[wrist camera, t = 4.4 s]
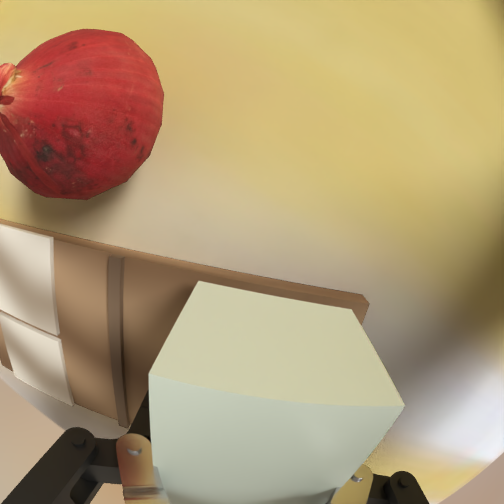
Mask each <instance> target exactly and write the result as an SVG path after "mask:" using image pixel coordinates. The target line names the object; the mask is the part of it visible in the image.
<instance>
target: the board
mask: <svg viewBox="0 0 504 504" xmlns="http://www.w3.org/2000/svg"><path fill="white" fill-rule="evenodd" d="M198 281H203V282H207V283H212V284H217V285H222V286H227V287H231V288H236V289H241V290H246V291H251V292H257V293H262V294H267V295H272V296H278V297H283V298H288V299H294V300H299V301H305V302H311V303H317V304H322V305H328V306H334V307H340V308H346V309H352V311H353V313H354V314H355V316H356V318H357V320H358V321H359V323H360V325H362V323H363V320H364V317H365V315H366V312H367V309H368V306H369V303H368V301H367V300H366V299H365V297H364V296H363V295H361V294H355V293H349V292H343V291H338V290H332V289H326V288H321V287H315V286H310V285H304V284H299V283H293V282H288V281H283V280H277V279H272V278H267V277H262V276H256V275H251V274H246V273H241V272H236V271H231V270H226V269H221V268H216V267H211V266H206V265H201V264H196V263H191V262H186V261H181V260H177V259H172V258H167V257H162V256H158V255H153V254H148V253H144V252H139V251H134V250H130V249H125V248H121V247H116V246H112V245H107V244H103V243H98V242H94V241H90V240H85V239H81V238H77V237H72V236H68V235H64V234H60V233H55V232H51V231H47V230H43V229H39V228H35V227H30V226H26V225H22V224H18V223H14V222H10V221H6V220H2V219H0V360H1V363H2V365H3V366H5V367H6V368H8V369H10V370H11V371H13V372H14V374H15V377H16V378H18V379H19V380H21V381H23V382H25V383H26V384H28V385H30V386H32V387H34V388H35V389H37V390H39V391H41V392H43V393H45V394H47V395H49V396H51V397H53V398H55V399H57V400H59V401H61V402H63V403H66V404H68V405H70V406H72V407H73V405H74V403H75V404H78V405H80V406H83V407H85V408H87V409H90V410H92V411H95V412H97V413H100V414H103V415H105V416H108V417H111V418H113V419H116V420H118V422H119V426H122V427H125V428H128V427H129V425H130V424H131V425H132V423H133V420H134V418H135V416H136V414H137V412H138V410H139V408H140V406H141V403H142V401H143V400H144V397H145V395H146V393H147V391H148V390H149V372H150V370H151V368H152V366H153V364H154V362H155V360H156V358H157V356H158V354H159V353H160V351H161V349H162V347H163V345H164V343H165V341H166V339H167V337H168V336H169V334H170V332H171V330H172V328H173V326H174V324H175V323H176V321H177V319H178V317H179V315H180V313H181V312H182V310H183V308H184V306H185V304H186V302H187V301H188V299H189V297H190V295H191V293H192V292H193V290H194V288H195V286H196V284H197V283H198Z"/></svg>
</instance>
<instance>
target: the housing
mask: <svg viewBox="0 0 504 504" xmlns="http://www.w3.org/2000/svg"><path fill="white" fill-rule="evenodd" d="M404 407H405V404H404V403H403V401H402V399H401V397H400V395H399V393H398V391H397V389H396V387H395V385H394V384H393V382H392V380H391V378H390V376H389V374H388V372H387V371H386V369H385V367H384V365H383V363H382V362H381V360H380V358H379V356H378V354H377V353H376V351H375V349H374V347H373V345H372V344H371V342H370V340H369V338H368V337H367V335H366V333H365V332H364V330H363V328H362V326H361V325H360V323H359V321H358V320H357V318H356V316H355V314H354V313H353V311H352V309H346V308H340V307H334V306H328V305H322V304H317V303H311V302H305V301H299V300H294V299H288V298H283V297H278V296H272V295H267V294H262V293H257V292H251V291H246V290H241V289H236V288H231V287H227V286H222V285H217V284H212V283H207V282H203V281H198V283H197V284H196V286H195V288H194V290H193V292H192V293H191V295H190V297H189V299H188V301H187V302H186V304H185V306H184V308H183V310H182V312H181V313H180V315H179V317H178V319H177V321H176V323H175V324H174V326H173V328H172V330H171V332H170V334H169V336H168V337H167V339H166V341H165V343H164V345H163V347H162V349H161V351H160V353H159V354H158V356H157V358H156V360H155V362H154V364H153V366H152V368H151V370H150V372H149V413H150V432H151V447H152V459H153V466H156V467H158V471H159V475H160V478H161V481H162V485H163V488H164V489H165V491H166V493H167V496H168V499H169V502H170V504H326V503H327V502H328V500H329V498H330V495H331V493H332V492H333V491H334V490H335V489H336V488H337V487H342V486H343V485H344V484H345V483H346V482H347V481H348V480H349V479H350V478H351V477H352V475H353V474H354V473H355V472H356V471H357V470H358V469H359V467H360V466H361V465H362V464H363V463H364V461H365V460H366V459H367V458H368V456H369V455H370V454H371V453H372V451H373V450H374V449H375V448H376V446H377V445H378V444H379V442H380V441H381V440H382V438H383V437H384V436H385V434H386V433H387V432H388V430H389V429H390V427H391V426H392V425H393V423H394V422H395V420H396V419H397V417H398V416H399V414H400V413H401V411H402V410H403V408H404Z"/></svg>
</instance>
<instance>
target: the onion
mask: <svg viewBox="0 0 504 504" xmlns="http://www.w3.org/2000/svg"><path fill="white" fill-rule="evenodd" d="M163 100H164V92H163V89H162V86H161V83H160V80H159V76H158V73H157V70H156V67H155V65H154V63H153V61H152V59H151V58H150V57H149V56H148V55H147V54H146V53H145V52H144V51H143V50H142V49H141V48H140V47H139V46H138V45H137V44H136V43H135V42H134V41H133V40H132V39H130V38H128V37H127V36H125V35H124V34H122V33H118V32H112V31H105V30H97V29H80V30H76V31H71V32H68V33H65V34H63V35H60V36H58V37H55V38H53V39H50V40H48V41H46V42H44V43H43V44H41V45H39V46H38V47H37V48H36V49H34V50H33V51H32V52H31V53H29V54H28V55H27V56H26V57H25V58H24V59H23V60H21V61H20V62H19V63H18V65H17V66H15V65H13V64H12V63H4V64H3V65H1V66H0V154H1V156H2V158H3V159H4V161H5V163H6V165H7V167H8V169H9V171H10V173H11V174H12V175H13V176H15V177H16V178H17V179H18V180H19V181H21V182H22V183H23V184H24V185H26V186H27V187H28V188H29V189H31V190H32V191H33V192H35V193H37V194H39V195H42V196H44V197H50V198H66V199H81V200H88V199H90V198H92V197H94V196H96V195H98V194H100V193H102V192H104V191H107V190H109V189H111V188H113V187H115V186H118V185H120V184H122V183H124V182H127V180H128V179H129V178H130V177H131V176H132V175H133V174H134V172H135V171H136V170H137V169H138V168H139V167H140V166H141V165H142V164H143V162H144V161H145V160H146V159H147V158H148V157H149V156H150V154H151V151H152V148H153V145H154V143H155V140H156V137H157V135H158V132H159V130H160V127H161V125H162V112H163Z"/></svg>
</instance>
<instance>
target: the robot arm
mask: <svg viewBox="0 0 504 504" xmlns="http://www.w3.org/2000/svg"><path fill="white" fill-rule="evenodd" d="M103 483H111V484H122V486H123V496H124V500H125V504H170V502H169V499H168V496H167V493H166V491H165V489H164V488H163V485H162V481H161V478H160V475H159V471H158V467H156V466H153V459H152V447H151V432H150V413H149V390H148V391H147V393H146V395H145V397H144V400H143V401H142V403H141V406H140V408H139V410H138V412H137V414H136V416H135V418H134V420H133V423H132V425H131V427H130V429H129V431H128V432H127V434H125V435H123V436H121V437H120V438H118V439H101V438H94V436H93V435H92V433H91V432H89V431H88V430H86V429H84V428H80V427H74V428H70V429H68V430H66V431H65V432H64V434H62V435H61V437H60V438H59V439H58V440H57V441H56V442H55V443H54V444H53V446H52V447H51V448H50V449H49V450H48V451H47V452H46V453H45V454H44V455H43V457H42V458H41V459H40V460H39V461H38V462H37V463H36V464H35V466H34V467H33V468H32V469H31V470H30V471H29V472H28V474H27V475H26V476H25V477H24V478H23V479H22V480H21V482H20V483H19V484H18V485H17V486H16V487H15V488H14V489H13V491H12V492H11V493H10V494H9V495H8V496H7V498H6V499H5V500H4V501H3V502H2V503H1V504H90V502H91V501H92V499H93V498H94V496H95V495H96V493H97V492H98V491H99V489H100V488H101V486H102V484H103ZM326 504H429V502H428V500H427V499H426V497H425V495H424V493H423V491H422V490H421V488H420V486H419V484H418V482H417V480H416V479H415V477H414V476H413V475H412V474H410V473H408V472H405V471H399V472H396V473H394V474H393V475H392V476H391V477H388V476H382V475H377V474H373V473H372V471H371V469H370V468H369V467H368V466H366V465H364V464H362V465H361V466H360V467H359V469H358V470H357V471H356V472H355V473H354V474H353V475H352V477H351V478H350V479H349V480H348V481H347V482H346V483H345V484H344V485H343V486H342V487H337V488H336V489H335V490H334V491H333V492H332V493H331V495H330V498H329V500H328V502H327V503H326Z"/></svg>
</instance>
